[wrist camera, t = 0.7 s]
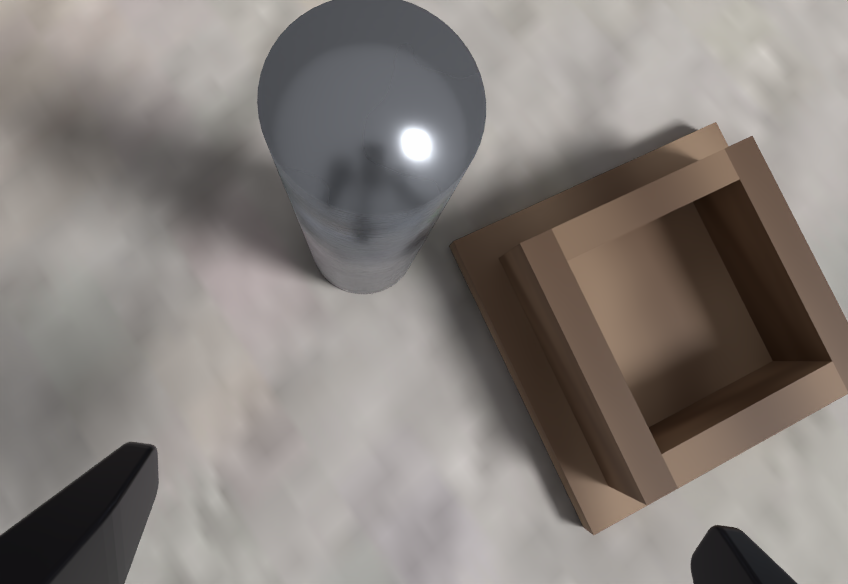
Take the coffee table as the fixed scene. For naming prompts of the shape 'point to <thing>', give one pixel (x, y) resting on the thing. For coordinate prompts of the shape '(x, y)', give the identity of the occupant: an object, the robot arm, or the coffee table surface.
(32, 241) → the coffee table surface
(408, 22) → the steel pin
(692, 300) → the walnut box
